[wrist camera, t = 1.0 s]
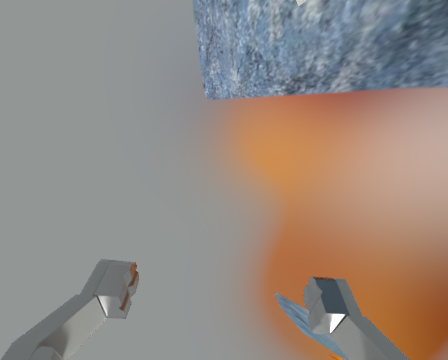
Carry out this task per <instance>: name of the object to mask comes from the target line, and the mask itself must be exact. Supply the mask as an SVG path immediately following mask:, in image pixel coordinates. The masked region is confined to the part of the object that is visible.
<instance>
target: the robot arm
mask: <svg viewBox="0 0 448 360" xmlns="http://www.w3.org/2000/svg"><path fill="white" fill-rule="evenodd" d="M136 268H137V265H136V262H127V261H115V260H105V259H101V260H100V261H99V262H98V264H97V265H96V267H95V269H94V271H93V272H92V274H91V276H90V278H89V279H88V281H87V283H86V285H85V286H84V288H83V290H82V292H81V293H80V295H75V296H74V297H73V298H71V299H70V300H69V301H67V302H66V303H64V304H63V305H62V306H61V307H59V308H58V309H57V310H55V311H54V312H53V313H51V314H50V315H49V316H47V317H46V318H45V319H44V320H42V321H41V322H39V323H38V324H37V325H35V326H34V327H33V328H31V329H30V330H29V331H27V332H26V333H25V334H24V335H22V336H21V337H20V338H18V339H17V340H16V341H14V342H13V343H12V344H11V346H10V347H9V349H8V350H7V352H6V353H5V355H4V356H3V357H2V359H1V360H67V359H68V358H69V357H70V356H71V355H72V354H73V353H74V352H75V351H76V350H77V349H78V348H79V347H80V346H81V345H82V344H83V343H84V342H85V341H86V340H87V338H89V336H90V335H91V334H92V333H93V332H94V331H95V330H96V329H97V328H98V327H99V326H100V325H101V324H102V323H103V322H104V321H105V320H106V318H122V319H126V317H127V314H128V311H129V309H130V306H131V300H130V297H131V296H133V295H134V294H135V292H136V289H137V286H138V281H139V274H138V272H137V271H136ZM303 299H304V304H305V307H306V308H307V309H308V310H309V311H310V313H309V315H308V319H309V323H310V327H311V331H312V333H320V334H330V335H331V337H332V338H333V340H334V341H335V342H336V344H337V345H338V347H339V348H340V349H341V351H342V352H343V353H344V355H345V356H346V357H347V359H348V360H409V359H408V358H407V357H406V356H405V355H404V354H403V353H402V352H401V351H400V350H399V349H398V348H397V347H396V346H395V345H394V344H393V343H392V342H391V341H390V340H389V339H388V338H387V337H386V336H385V335H384V334H383V333H382V332H381V331H380V330H379V329H378V328H377V327H376V326H375V325H374V324H372V322H371V321H370V320H368V319H367V318H366V317H363V316H362V314H361V312H360V310H359V307H358V305H357V303H356V301H355V299H354V296H353V294H352V292H351V290H350V288H349V286H348V284H347V282H346V280H345V279H337V278H328V277H311V278H310V279H309V284H308V285H306V286H305V288H304V292H303Z"/></svg>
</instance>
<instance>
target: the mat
mask: <svg viewBox="0 0 448 360" xmlns="http://www.w3.org/2000/svg"><path fill="white" fill-rule="evenodd" d="M296 1H297V3H298V6H300V5H301V4H302V3H304V2H305V1H306V0H296Z"/></svg>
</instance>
